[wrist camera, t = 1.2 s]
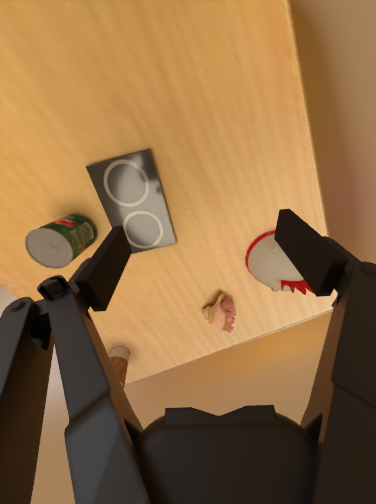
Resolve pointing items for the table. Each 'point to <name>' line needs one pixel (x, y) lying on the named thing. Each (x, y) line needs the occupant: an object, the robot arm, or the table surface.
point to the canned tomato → (61, 240)
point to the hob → (134, 199)
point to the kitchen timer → (273, 266)
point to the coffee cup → (120, 362)
